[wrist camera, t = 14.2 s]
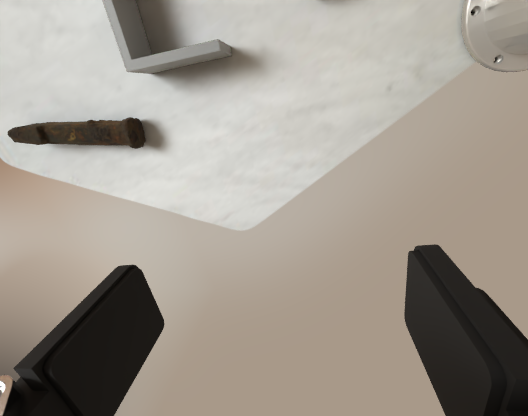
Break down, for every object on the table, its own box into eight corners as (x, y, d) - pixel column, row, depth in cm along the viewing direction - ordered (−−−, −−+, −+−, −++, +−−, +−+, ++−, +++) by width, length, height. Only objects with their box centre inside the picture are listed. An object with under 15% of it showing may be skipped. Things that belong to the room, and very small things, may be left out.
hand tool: (144, 116, 36) (123, 119, 32) (149, 145, 38) (130, 152, 34) (23, 111, 38) (-11, 113, 34) (33, 138, 40) (1, 144, 36)
